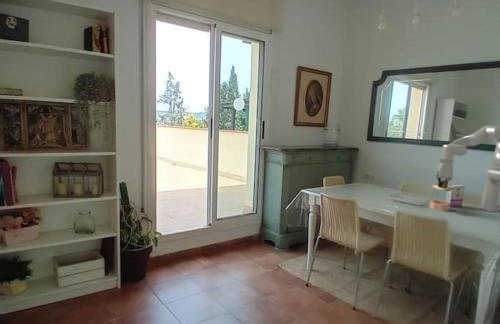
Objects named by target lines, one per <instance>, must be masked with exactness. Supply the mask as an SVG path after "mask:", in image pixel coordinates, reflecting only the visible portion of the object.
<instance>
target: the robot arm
mask: <svg viewBox="0 0 500 324" xmlns="http://www.w3.org/2000/svg"><path fill="white" fill-rule="evenodd" d="M490 138H492V139H493V141H494V143H495V149H494V152H493V155H492V158H491V165H494V166H495V167H494V166H493V167H489V168H487V169H486V170H485V171H484V188H483V193H482V199H481V204H480V205H478V209H480V210H484V211H488V212H500V204H499V199H500V168H499V167H500V126H499V125H485V126H483V127H481V128H479V129H478V130H476V131H475V132H473V133H471V134H470V135H466V136H462V137H460V138H457V139H455V140H453V141H452V142H450V143H449V144H443V145H442V148H441V154H440V160H439V161H440V162H439V163H438V165H437V167H436V171H435V176H434V178H435V179H436V180H437V181H438V184H437V185H438V187H442V180H443V179H444V180H445V181H447V186H446V188H447V187H448V185H449V182H450V181H451V180H453V179H454V176H453V175H454V164H453V163H455V160H454V157H455V156H459V157H462V156H465V155H467V153H468V148H467V147H474V146H475V147H476V146H478V145H480V144H482V143H484V142H485V141H487V140H488V139H490Z"/></svg>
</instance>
